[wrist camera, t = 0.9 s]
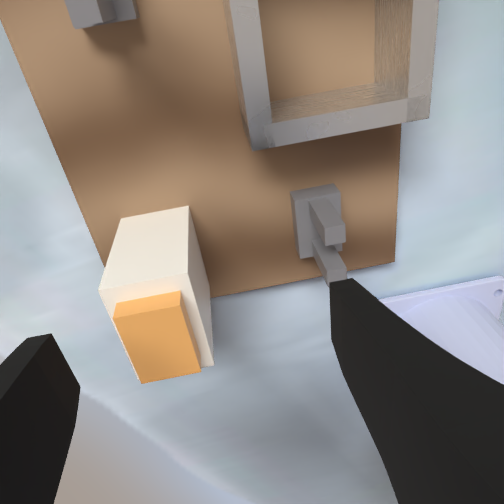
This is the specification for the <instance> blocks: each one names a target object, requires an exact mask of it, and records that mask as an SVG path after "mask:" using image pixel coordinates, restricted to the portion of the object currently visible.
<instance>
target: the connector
mask: <svg viewBox="0 0 504 504" xmlns="http://www.w3.org/2000/svg"><path fill="white" fill-rule="evenodd" d="M98 291H99V294H100V296H101V298H102V300H103V303H104V305H105V307H106V309H107V312H108V314H109V316H110V318H111V320H112V323H113V325H114V327H115V329H116V332H117V334H118V336H119V338H120V341H121V343H122V345H123V347H124V349H125V352H126V354H127V356H128V358H129V361H130V363H131V365H132V367H133V370H134V372H135V374H136V376H137V378H138V381H139V380H140V381H141V384H143V383H148V382H153V381H158V380H163V379H168V378H173V377H178V376H183V375H188V374H193V373H198V372H201V368H203V367H208V366H213V365H214V351H213V335H212V319H211V303H210V287H209V282H208V279H207V275H206V271H205V267H204V263H203V259H202V255H201V251H200V248H199V244H198V240H197V236H196V232H195V228H194V224H193V221H192V217H191V213H190V209H189V206H184V207H178V208H173V209H168V210H163V211H157V212H152V213H147V214H142V215H136V216H131V217H126V218H121V220H120V223H119V226H118V229H117V232H116V235H115V238H114V242H113V245H112V248H111V251H110V254H109V257H108V260H107V263H106V267H105V270H104V273H103V276H102V279H101V282H100V285H99V288H98Z"/></svg>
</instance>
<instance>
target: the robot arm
mask: <svg viewBox="0 0 504 504" xmlns="http://www.w3.org/2000/svg"><path fill="white" fill-rule="evenodd" d="M329 288H330V315H331V340H332V343H333V346H334V349H335V352H336V355H337V358H338V361H339V364H340V367H341V370H342V373H343V376H344V378H345V380H346V382H347V384H348V387H349V389H350V391H351V393H352V395H353V397H354V400H355V402H356V404H357V406H358V408H359V410H360V412H361V415H362V417H363V419H364V421H365V423H366V425H367V427H368V430H369V432H370V434H371V436H372V438H373V440H374V442H375V445H376V447H377V449H378V451H379V453H380V456H381V458H382V460H383V463H384V465H385V468H386V470H387V473H388V475H389V478H390V481H391V484H392V487H393V489H394V492H395V495H396V498H397V500H398V503H399V504H504V325H503V324H502V323H501V322H500V321H499V318H500V313H501V309H502V305H503V301H504V277H503V276H494V277H489V278H484V279H479V280H474V281H469V282H464V283H459V284H454V285H449V286H444V287H439V288H434V289H429V290H424V291H418V292H413V293H408V294H403V295H398V296H393V297H388V298H383V299H377V298H376V297H374V296H373V295H372V294H371V293H370V292H369V291H367V290H366V289H365V288H364V287H363V286H361V285H360V284H359V283H358V282H357V281H355V280H354V279H353V278H350V279H345V280H340V281H334V282H329ZM496 290H497V291H496ZM79 394H80V385H79V383H78V381H77V380H76V378H75V376H74V374H73V372H72V370H71V369H70V367H69V365H68V363H67V361H66V359H65V358H64V356H63V354H62V352H61V350H60V348H59V346H58V345H57V343H56V341H55V339H54V337H53V335H52V334H46V335H41V336H35V337H30V338H27V339H26V340H25V341H24V342H23V343H21V344H20V345H19V346H18V347H17V348H16V349H15V350H14V351H13V352H12V353H11V354H10V355H9V356H8V357H7V358H6V359H5V360H4V361H3V363H2V364H1V365H0V504H54V500H55V497H56V493H57V490H58V486H59V483H60V479H61V475H62V472H63V468H64V465H65V461H66V458H67V454H68V450H69V446H70V443H71V439H72V436H73V432H74V428H75V423H76V417H77V410H78V403H79Z"/></svg>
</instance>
